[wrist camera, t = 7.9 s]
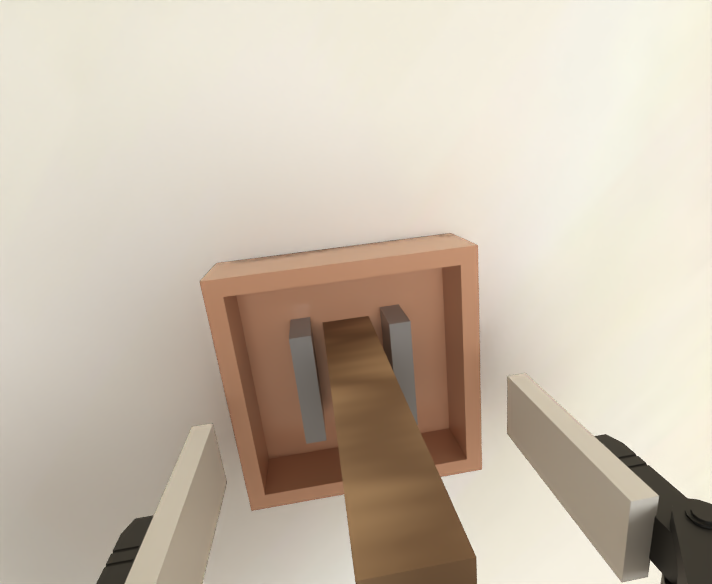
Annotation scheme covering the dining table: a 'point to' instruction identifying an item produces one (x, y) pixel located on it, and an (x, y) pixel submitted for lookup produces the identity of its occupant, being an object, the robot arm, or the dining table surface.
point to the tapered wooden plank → (389, 471)
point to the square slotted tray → (309, 359)
